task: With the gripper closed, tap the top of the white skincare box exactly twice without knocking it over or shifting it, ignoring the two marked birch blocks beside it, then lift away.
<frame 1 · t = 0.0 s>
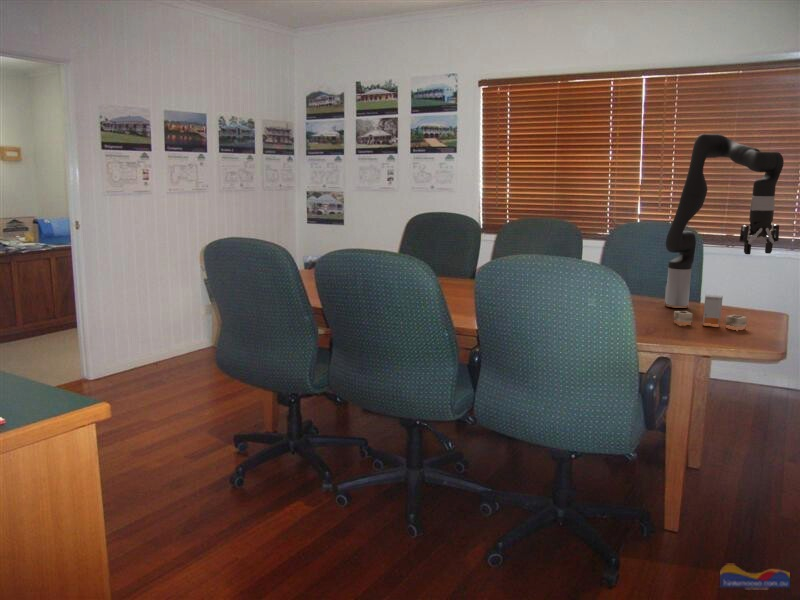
hand: (757, 253, 243), 29 cm above the table, tool pointing down, fingers open, 8 cm apart
skincare box: (711, 326, 257), on the table
marked block b: (682, 324, 260), on the table
marked block a: (735, 329, 253), on the table
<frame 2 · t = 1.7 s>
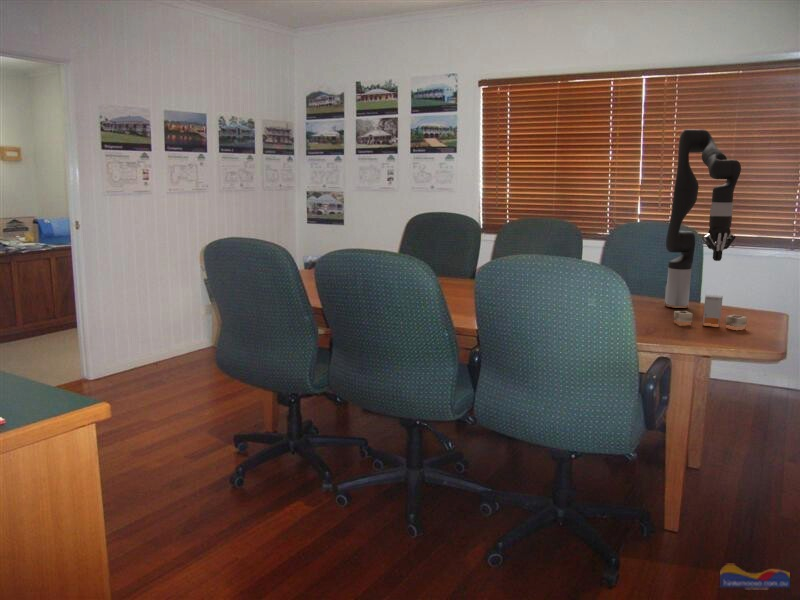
hand: (716, 260, 252), 26 cm above the table, tool pointing down, fingers closed
nothing on the table moved.
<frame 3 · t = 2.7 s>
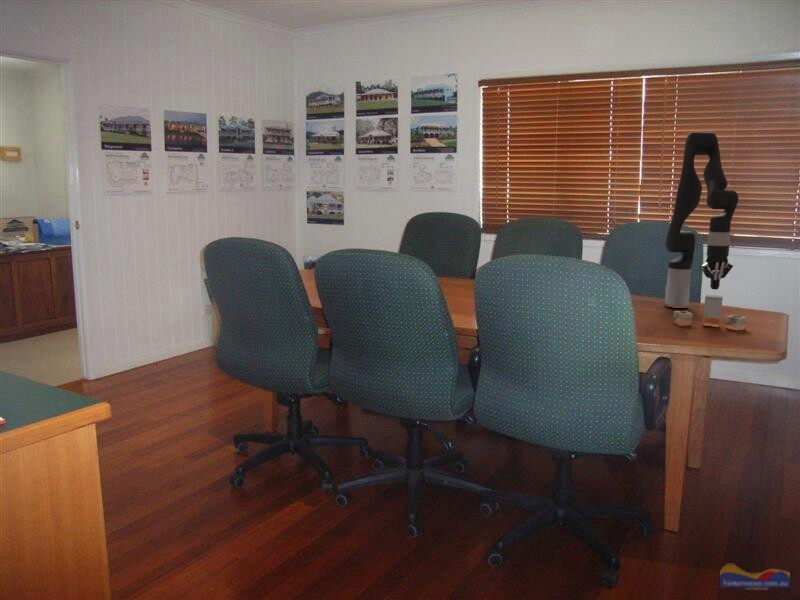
hand: (714, 289, 254), 15 cm above the table, tool pointing down, fingers closed
nothing on the table moved.
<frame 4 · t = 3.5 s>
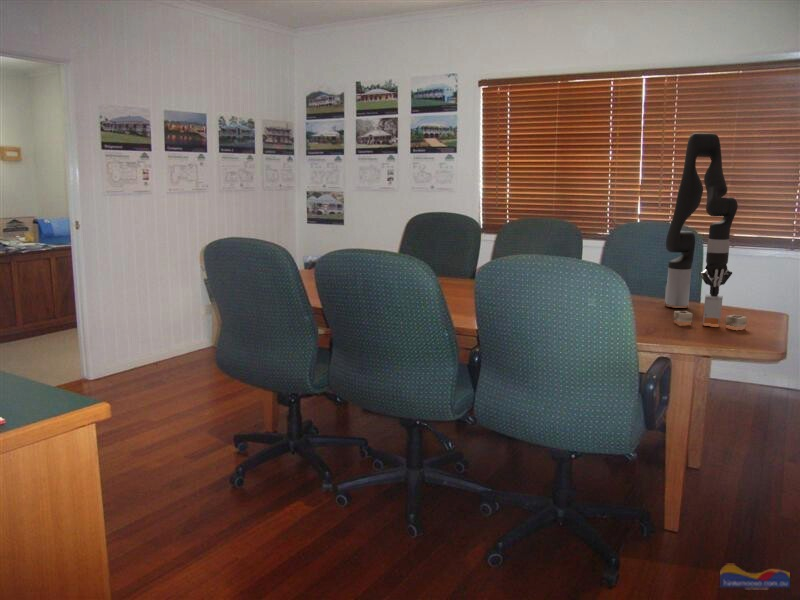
hand: (713, 295, 255), 12 cm above the table, tool pointing down, fingers closed
skincare box: (711, 326, 257), on the table, touching gripper
everything else where it was.
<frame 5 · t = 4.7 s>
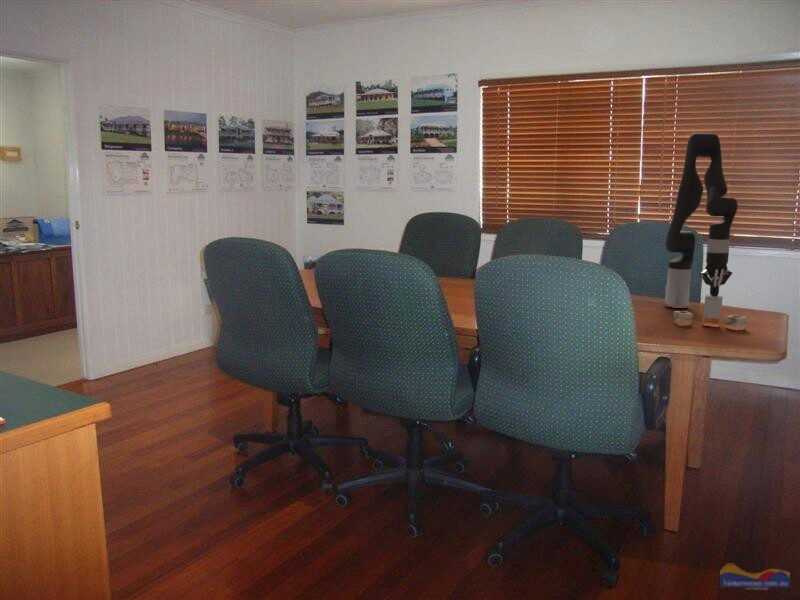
hand: (713, 295, 255), 12 cm above the table, tool pointing down, fingers closed
nothing on the table moved.
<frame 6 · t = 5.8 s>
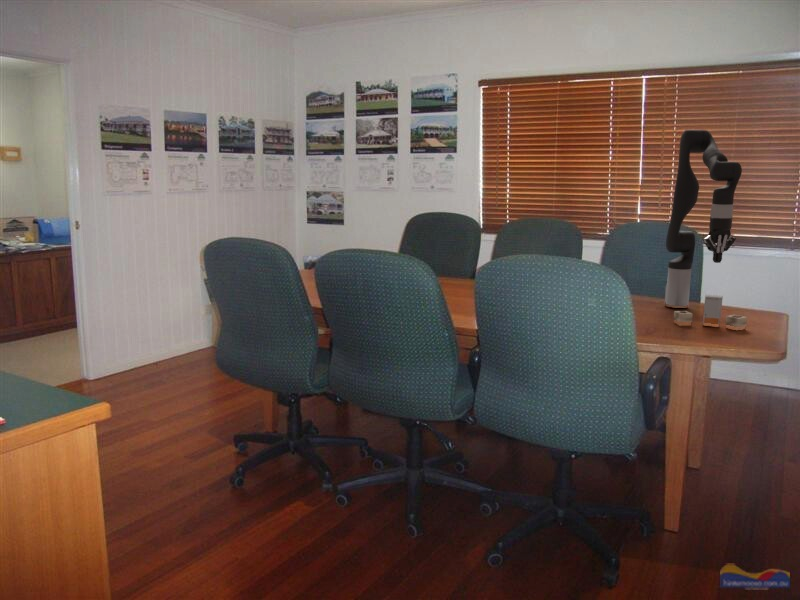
hand: (716, 262, 252), 25 cm above the table, tool pointing down, fingers closed
skincare box: (711, 326, 257), on the table
everything else where it was.
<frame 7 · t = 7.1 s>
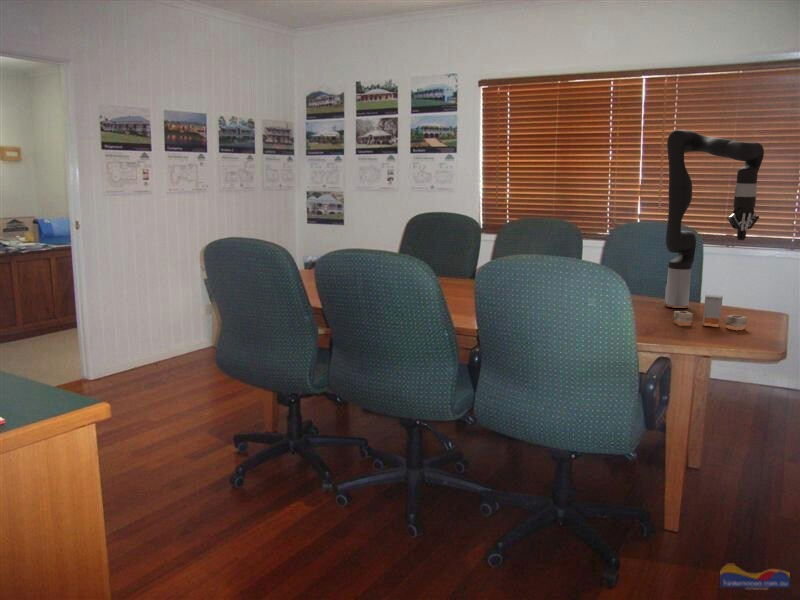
hand: (740, 240, 262), 32 cm above the table, tool pointing down, fingers closed
nothing on the table moved.
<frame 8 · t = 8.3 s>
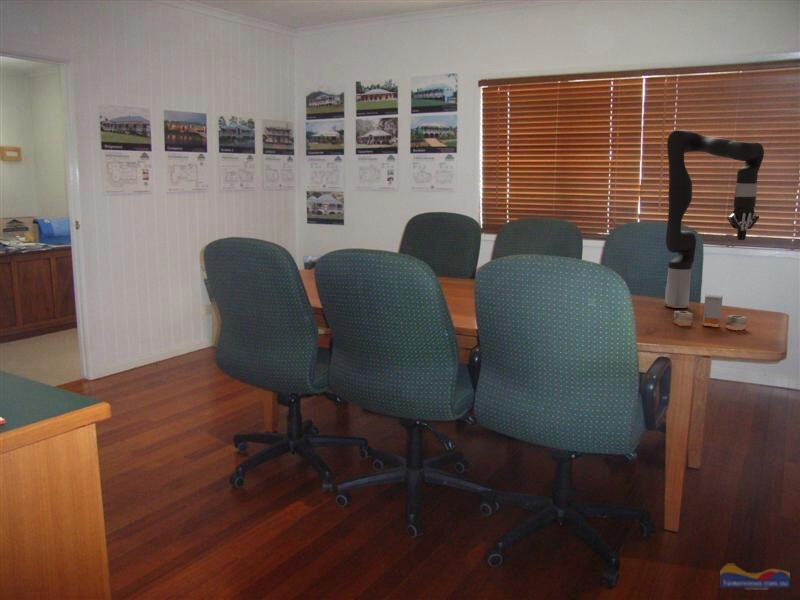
hand: (741, 239, 262), 32 cm above the table, tool pointing down, fingers closed
nothing on the table moved.
at the end: skincare box moved 0.2 cm from its start; skincare box tilted 0°; skincare box inside the target area (0.0 cm from its centre), on the table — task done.
